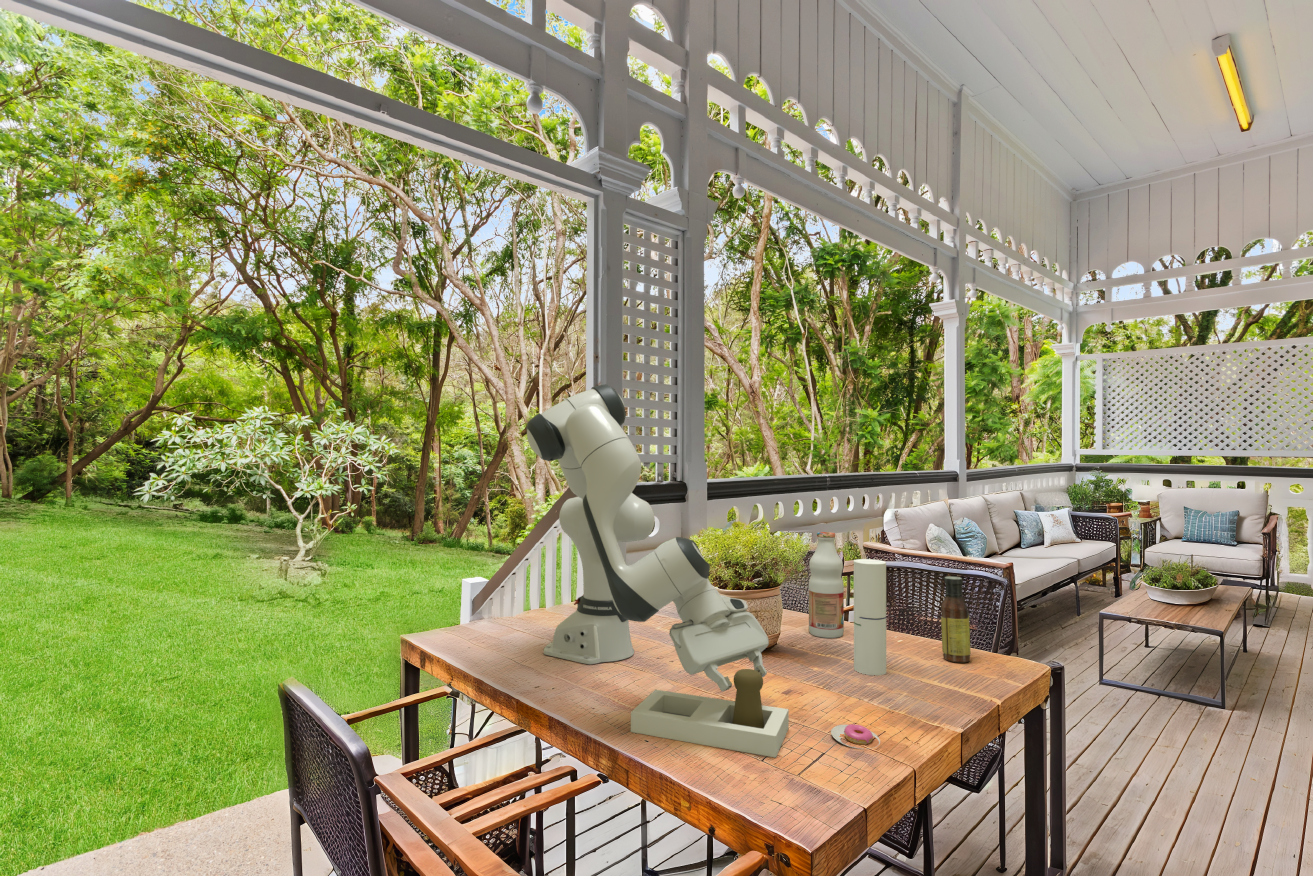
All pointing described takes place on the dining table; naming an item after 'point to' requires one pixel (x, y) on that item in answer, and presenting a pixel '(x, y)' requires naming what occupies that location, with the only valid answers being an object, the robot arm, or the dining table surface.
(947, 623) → the sauce bottle
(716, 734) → the socket rail
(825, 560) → the fruit juice
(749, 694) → the olive knobbed peg
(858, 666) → the cylindrical container
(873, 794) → the dining table surface
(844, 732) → the donut
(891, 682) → the dining table surface
